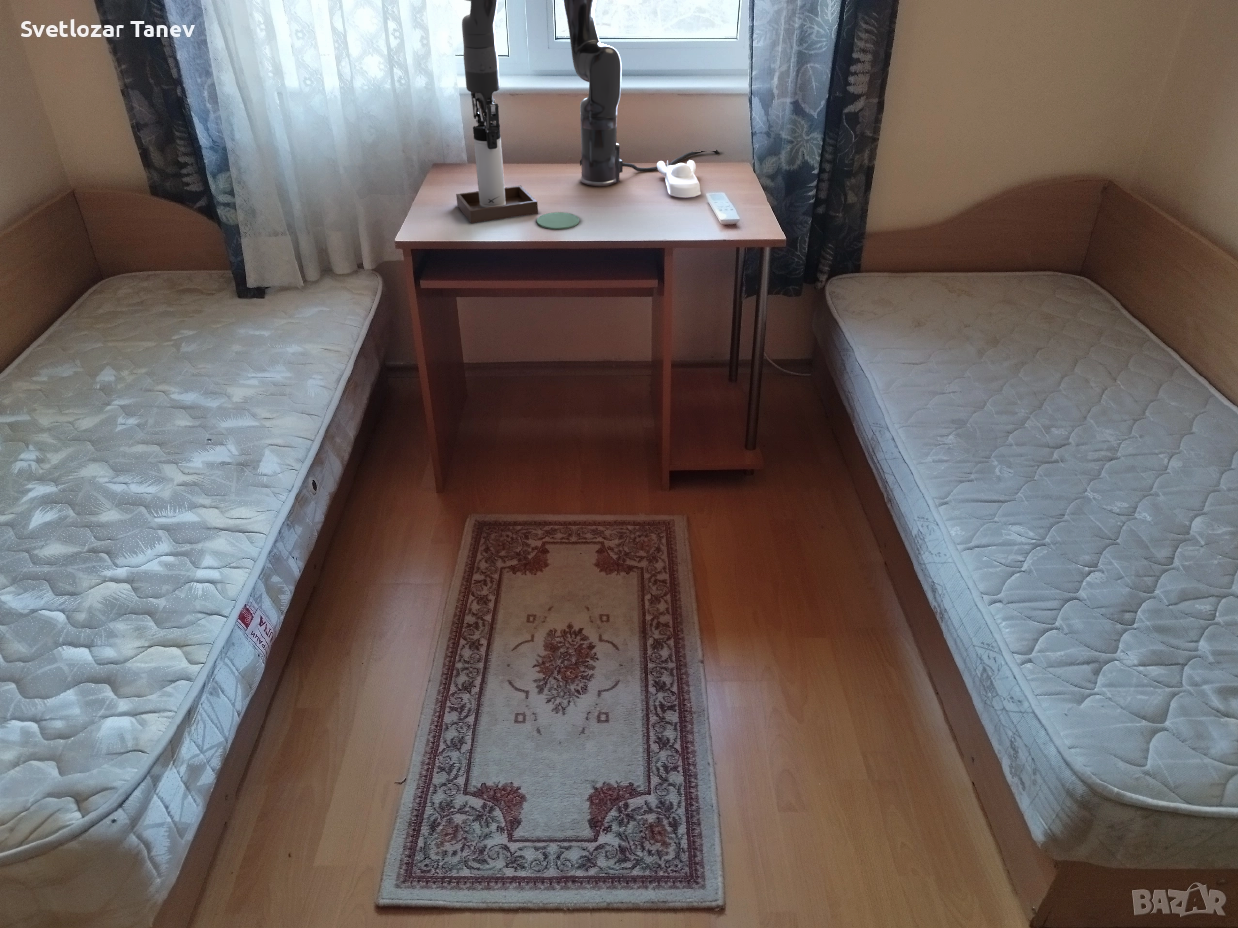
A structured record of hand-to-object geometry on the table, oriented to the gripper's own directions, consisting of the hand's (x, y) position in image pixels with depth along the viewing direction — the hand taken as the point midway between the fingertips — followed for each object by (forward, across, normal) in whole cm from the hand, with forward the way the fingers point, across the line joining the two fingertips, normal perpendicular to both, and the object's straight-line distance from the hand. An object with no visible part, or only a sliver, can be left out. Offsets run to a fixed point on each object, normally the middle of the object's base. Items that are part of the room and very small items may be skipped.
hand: (488, 144), depth 203 cm
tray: (+16, 0, -1) cm, 16 cm away
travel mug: (+15, 0, 0) cm, 15 cm away
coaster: (+16, -13, -12) cm, 24 cm away
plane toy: (+16, -2, -50) cm, 52 cm away
